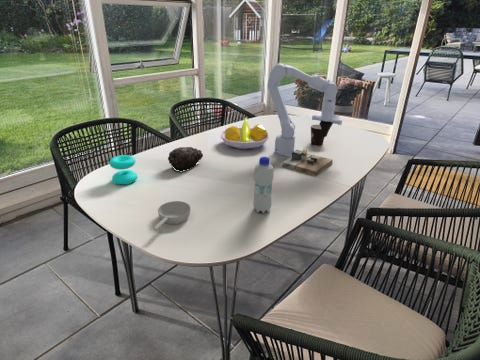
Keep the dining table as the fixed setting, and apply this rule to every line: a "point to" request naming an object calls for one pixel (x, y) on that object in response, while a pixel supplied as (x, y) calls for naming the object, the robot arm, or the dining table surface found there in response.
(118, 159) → the donuts
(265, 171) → the bottle
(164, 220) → the small pan
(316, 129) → the coffee mug
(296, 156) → the lock hardware
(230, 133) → the fruit bowl
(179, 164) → the pine cone
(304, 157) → the bolt
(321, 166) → the wooden latch board
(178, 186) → the dining table surface
